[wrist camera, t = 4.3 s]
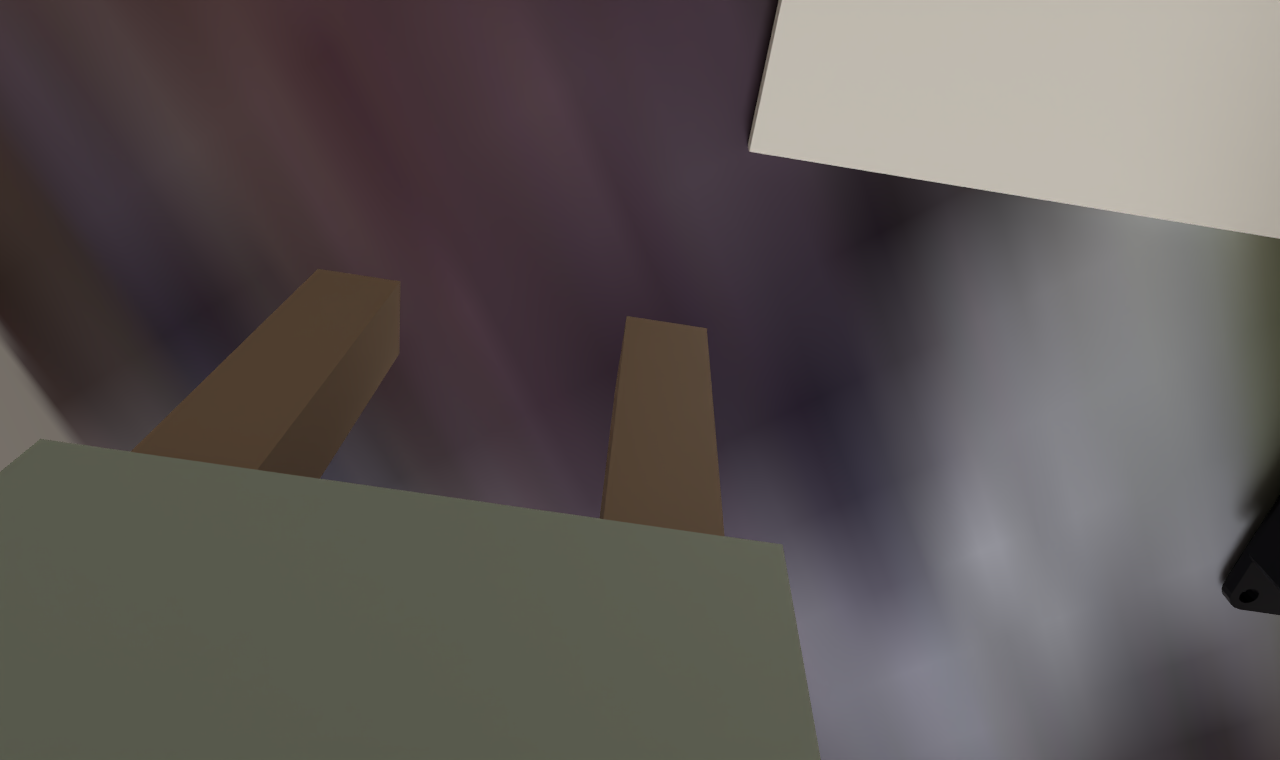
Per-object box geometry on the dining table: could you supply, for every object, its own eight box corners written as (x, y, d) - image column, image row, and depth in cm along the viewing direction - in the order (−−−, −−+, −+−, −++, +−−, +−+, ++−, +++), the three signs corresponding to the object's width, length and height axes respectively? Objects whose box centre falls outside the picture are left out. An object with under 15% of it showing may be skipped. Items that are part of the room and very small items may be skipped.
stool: (740, 307, 10) (861, 983, 4) (666, 633, 13) (659, 1368, 6) (288, 237, 10) (-437, 825, 4) (304, 583, 13) (-92, 1297, 6)
